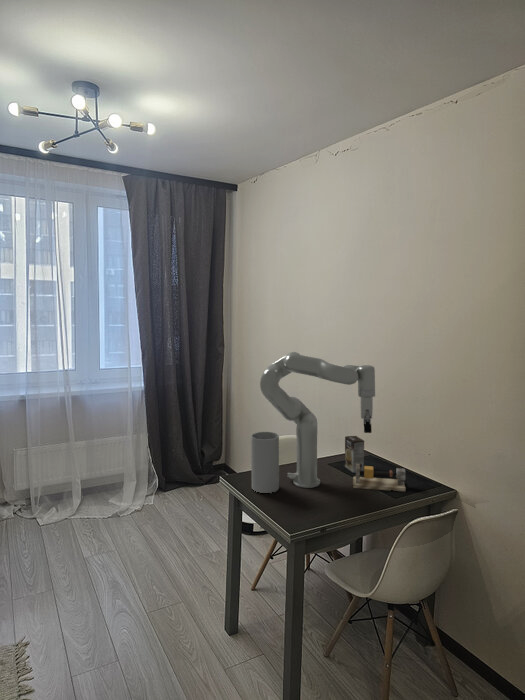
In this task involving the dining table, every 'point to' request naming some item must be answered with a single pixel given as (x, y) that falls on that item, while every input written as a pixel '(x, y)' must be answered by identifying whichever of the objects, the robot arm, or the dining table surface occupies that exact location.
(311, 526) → the dining table surface
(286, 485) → the dining table surface
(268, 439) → the cylinder vase
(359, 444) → the coffee box
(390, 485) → the cord rig
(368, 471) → the sleeve
